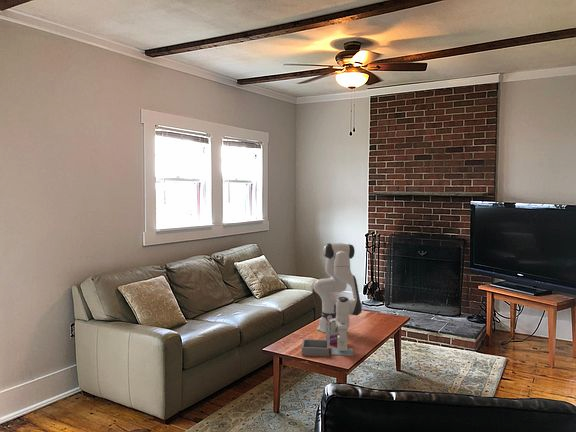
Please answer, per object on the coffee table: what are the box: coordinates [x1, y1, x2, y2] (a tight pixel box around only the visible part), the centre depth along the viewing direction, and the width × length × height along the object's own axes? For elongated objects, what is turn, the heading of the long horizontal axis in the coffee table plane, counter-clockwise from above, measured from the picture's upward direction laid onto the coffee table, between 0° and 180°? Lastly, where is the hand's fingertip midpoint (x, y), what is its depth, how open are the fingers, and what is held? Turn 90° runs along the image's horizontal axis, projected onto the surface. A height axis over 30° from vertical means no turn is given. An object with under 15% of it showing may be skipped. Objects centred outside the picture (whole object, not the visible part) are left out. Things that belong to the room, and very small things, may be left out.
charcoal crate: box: [301, 338, 330, 357], centre depth 292 cm, size 16×17×5 cm
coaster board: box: [330, 347, 354, 357], centre depth 291 cm, size 12×14×1 cm
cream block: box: [336, 335, 348, 350], centre depth 290 cm, size 4×6×8 cm
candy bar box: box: [325, 318, 339, 346], centre depth 308 cm, size 11×5×16 cm, turn 126°
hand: (342, 344), depth 290 cm, fingers closed on cream block, 4 cm apart
